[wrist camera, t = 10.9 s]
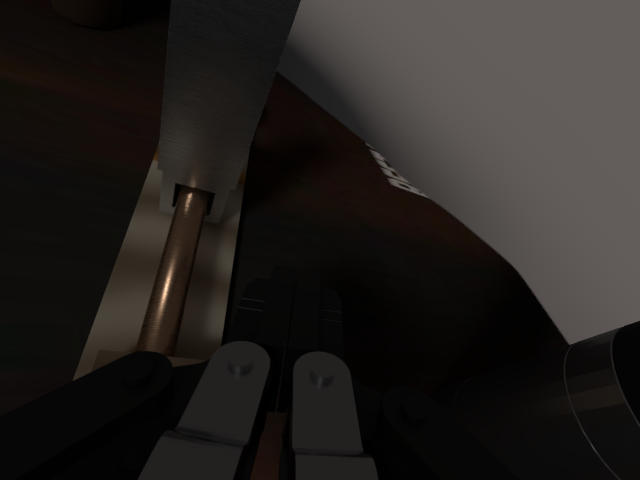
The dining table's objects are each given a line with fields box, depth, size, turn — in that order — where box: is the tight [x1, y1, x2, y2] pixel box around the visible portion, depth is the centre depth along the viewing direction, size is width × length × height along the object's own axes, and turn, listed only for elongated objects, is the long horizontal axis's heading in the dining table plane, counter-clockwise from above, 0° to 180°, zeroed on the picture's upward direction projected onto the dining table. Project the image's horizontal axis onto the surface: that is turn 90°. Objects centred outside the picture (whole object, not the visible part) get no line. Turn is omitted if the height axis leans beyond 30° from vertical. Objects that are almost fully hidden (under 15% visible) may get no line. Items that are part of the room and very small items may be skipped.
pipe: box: [135, 185, 210, 357], centre depth 31 cm, size 32×3×3 cm, turn 1°
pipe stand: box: [73, 145, 250, 381], centre depth 32 cm, size 37×9×5 cm, turn 1°
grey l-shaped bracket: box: [157, 0, 301, 224], centre depth 27 cm, size 6×6×20 cm
